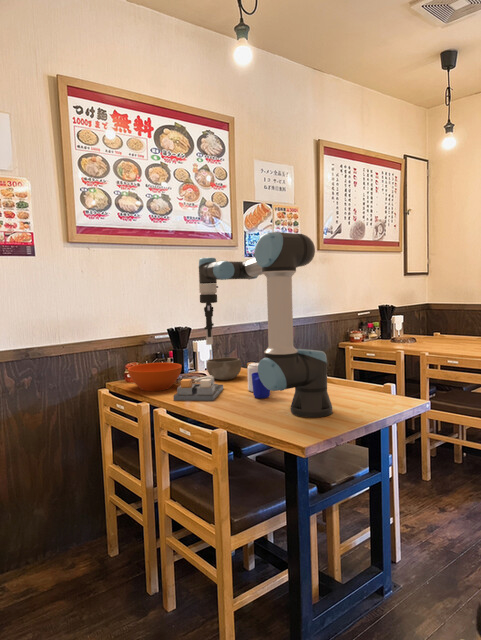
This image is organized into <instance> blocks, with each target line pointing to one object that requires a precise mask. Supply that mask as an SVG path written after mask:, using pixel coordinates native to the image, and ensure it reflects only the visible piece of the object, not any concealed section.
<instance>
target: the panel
mask: <svg viewBox="0 0 481 640" xmlns="http://www.w3.org/2000/svg"><path fill="white" fill-rule="evenodd" d="M222 391H224V384H218V383H214V385H211V387H210V388H201V386H200V383H192V386H191V387H190V388H181V384H180V385H178V387H177V388H176V393H175V394H174V395H173V396H172V397H173V401H178V402H179V401H183V402H184V401H185V402H186V401H187V402H188V401H189V402H190V401H191V402H196V401H197V402H202V401H203V402H214V401H215V400H216V398H217V397H218V396H219V395H220V394H221V392H222Z"/></svg>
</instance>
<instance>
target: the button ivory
mask: <svg viewBox="0 0 481 640" xmlns="http://www.w3.org/2000/svg"><path fill="white" fill-rule="evenodd" d="M199 384H200V386H201V388H210V387H211V379H202V380H201V381H199Z"/></svg>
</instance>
